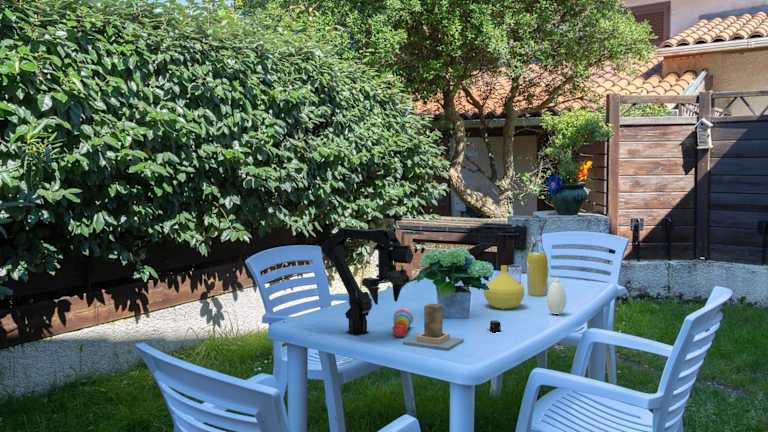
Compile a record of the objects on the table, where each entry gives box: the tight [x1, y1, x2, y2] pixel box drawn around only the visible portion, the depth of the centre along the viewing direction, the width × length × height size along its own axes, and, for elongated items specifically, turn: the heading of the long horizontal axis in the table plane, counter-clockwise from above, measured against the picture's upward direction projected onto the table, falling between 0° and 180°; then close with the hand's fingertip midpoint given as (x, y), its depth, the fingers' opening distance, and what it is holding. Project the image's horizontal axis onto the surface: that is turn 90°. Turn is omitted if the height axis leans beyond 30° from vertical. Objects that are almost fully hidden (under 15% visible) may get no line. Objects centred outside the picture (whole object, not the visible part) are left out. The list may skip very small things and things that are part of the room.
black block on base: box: [486, 319, 502, 333], centre depth 264 cm, size 12×7×5 cm, turn 10°
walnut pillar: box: [423, 303, 444, 338], centre depth 246 cm, size 5×5×13 cm
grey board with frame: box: [402, 332, 465, 351], centre depth 247 cm, size 18×14×3 cm
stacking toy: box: [392, 307, 414, 338], centre depth 263 cm, size 8×8×19 cm
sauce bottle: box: [546, 273, 567, 313], centre depth 292 cm, size 8×8×18 cm
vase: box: [483, 264, 525, 309], centre depth 309 cm, size 18×18×19 cm
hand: (386, 302), depth 256 cm, fingers open, 9 cm apart
